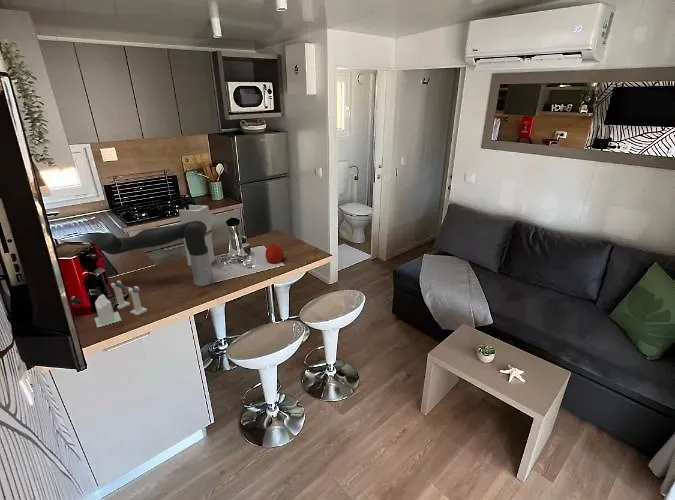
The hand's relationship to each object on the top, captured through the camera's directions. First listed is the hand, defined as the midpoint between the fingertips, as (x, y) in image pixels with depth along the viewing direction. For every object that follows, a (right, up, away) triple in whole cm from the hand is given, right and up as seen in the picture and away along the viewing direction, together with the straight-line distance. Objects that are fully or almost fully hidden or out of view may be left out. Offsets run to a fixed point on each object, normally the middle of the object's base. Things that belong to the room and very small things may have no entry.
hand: (90, 298), depth 156 cm
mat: (+7, -10, +1) cm, 12 cm away
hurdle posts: (+12, -6, +9) cm, 16 cm away
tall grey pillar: (+29, +12, +54) cm, 62 cm away
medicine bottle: (+48, +18, +68) cm, 86 cm away
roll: (+7, -9, 0) cm, 12 cm away
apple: (+70, +14, +61) cm, 94 cm away
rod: (+12, +4, +5) cm, 14 cm away
